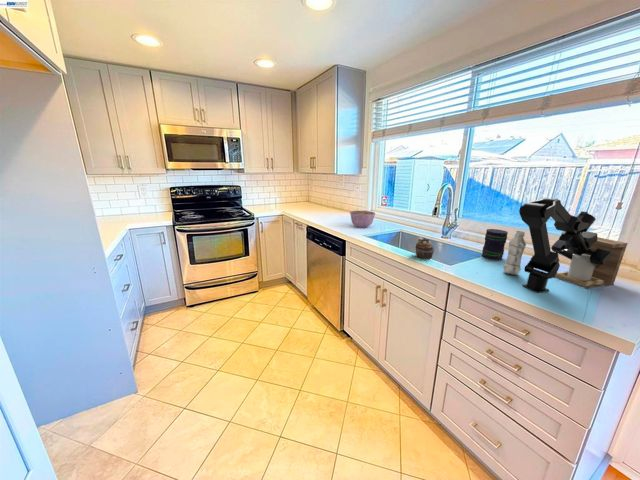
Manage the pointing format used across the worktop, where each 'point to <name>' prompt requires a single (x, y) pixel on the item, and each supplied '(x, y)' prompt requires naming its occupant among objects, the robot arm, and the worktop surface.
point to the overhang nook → (605, 271)
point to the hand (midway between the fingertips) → (585, 262)
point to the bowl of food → (362, 218)
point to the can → (581, 268)
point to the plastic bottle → (515, 253)
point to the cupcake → (424, 249)
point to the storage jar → (494, 244)
